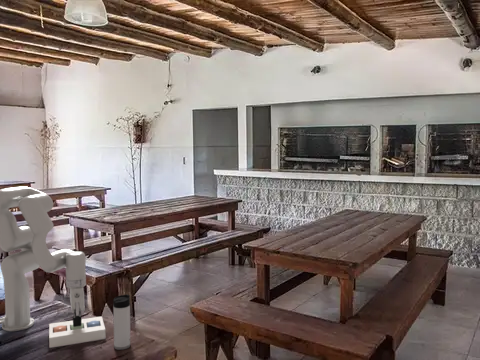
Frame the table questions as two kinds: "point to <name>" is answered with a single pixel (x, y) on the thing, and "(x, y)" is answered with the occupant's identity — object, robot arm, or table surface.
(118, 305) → the travel mug
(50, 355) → the table surface
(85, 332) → the button box
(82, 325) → the sage button
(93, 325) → the slate button
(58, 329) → the terracotta button
